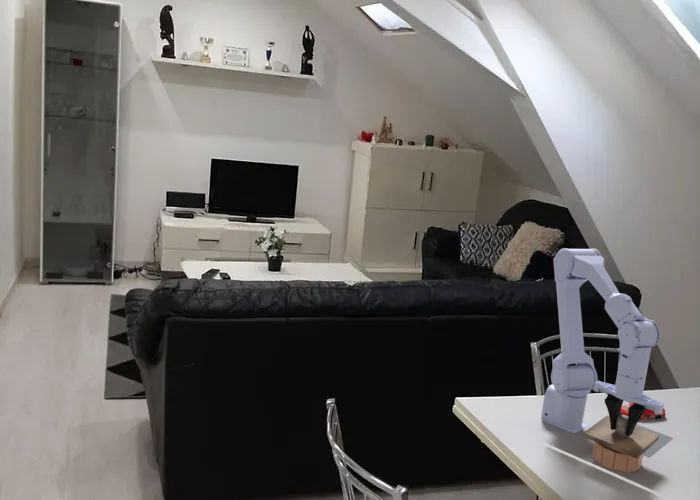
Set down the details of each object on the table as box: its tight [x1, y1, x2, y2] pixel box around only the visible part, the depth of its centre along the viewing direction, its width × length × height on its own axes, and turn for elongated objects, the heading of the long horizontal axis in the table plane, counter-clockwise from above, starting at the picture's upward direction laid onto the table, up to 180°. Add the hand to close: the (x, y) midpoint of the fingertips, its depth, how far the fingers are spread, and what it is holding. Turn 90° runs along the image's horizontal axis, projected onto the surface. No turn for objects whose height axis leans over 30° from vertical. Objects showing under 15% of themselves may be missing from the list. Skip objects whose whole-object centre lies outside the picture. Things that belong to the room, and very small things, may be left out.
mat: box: [635, 423, 674, 458], centre depth 163 cm, size 15×15×1 cm
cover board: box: [582, 415, 659, 459], centre depth 148 cm, size 12×12×5 cm
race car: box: [620, 402, 666, 421], centre depth 174 cm, size 13×5×4 cm, turn 104°
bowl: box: [591, 441, 644, 473], centre depth 150 cm, size 10×10×4 cm
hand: (621, 431), depth 148 cm, fingers closed on cover board, 3 cm apart
